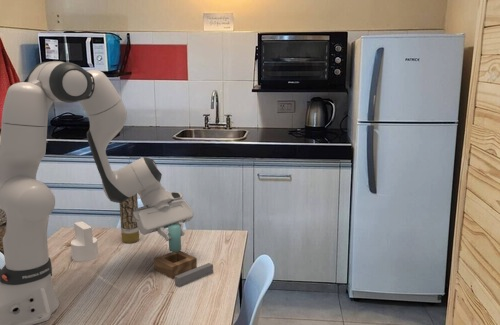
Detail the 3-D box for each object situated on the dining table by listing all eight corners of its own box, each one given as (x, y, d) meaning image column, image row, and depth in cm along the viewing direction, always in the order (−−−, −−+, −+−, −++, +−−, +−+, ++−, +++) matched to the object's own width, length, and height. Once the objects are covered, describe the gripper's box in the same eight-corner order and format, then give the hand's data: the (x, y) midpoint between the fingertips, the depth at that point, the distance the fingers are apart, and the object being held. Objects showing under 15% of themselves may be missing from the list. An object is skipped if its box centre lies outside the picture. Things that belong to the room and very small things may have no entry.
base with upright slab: (68, 256, 170) (65, 224, 167) (92, 249, 176) (89, 219, 173) (77, 264, 163) (75, 231, 161) (102, 257, 169) (100, 225, 167)
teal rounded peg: (173, 252, 152) (172, 229, 151) (166, 249, 155) (165, 226, 153) (183, 249, 155) (182, 226, 153) (176, 246, 158) (175, 223, 156)
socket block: (172, 278, 150) (172, 267, 149) (154, 269, 156) (153, 258, 156) (196, 269, 157) (196, 258, 156) (178, 260, 163) (178, 249, 163)
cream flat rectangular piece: (179, 290, 144) (178, 278, 143) (142, 270, 158) (142, 259, 157) (213, 275, 154) (213, 264, 153) (176, 258, 168) (175, 248, 167)
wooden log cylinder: (134, 244, 181) (131, 181, 176) (118, 243, 182) (114, 180, 177) (142, 238, 187) (139, 177, 182) (126, 236, 189) (123, 176, 183)
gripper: (133, 204, 149) (152, 241, 144) (184, 191, 163) (203, 225, 159) (127, 214, 153) (145, 251, 148) (177, 201, 167) (195, 234, 163)
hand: (175, 237), depth 154 cm, fingers closed on teal rounded peg, 4 cm apart
